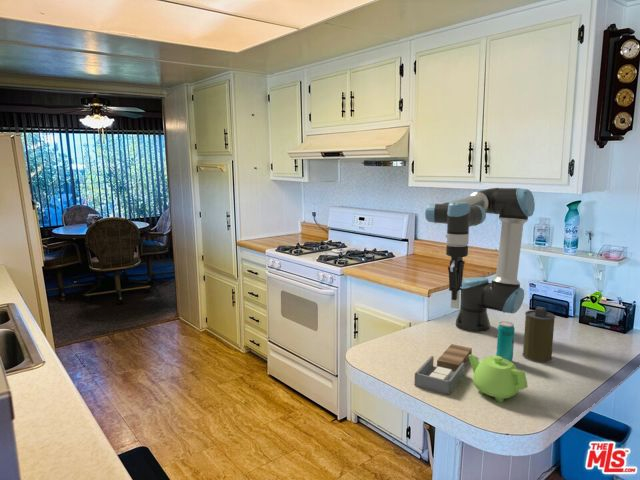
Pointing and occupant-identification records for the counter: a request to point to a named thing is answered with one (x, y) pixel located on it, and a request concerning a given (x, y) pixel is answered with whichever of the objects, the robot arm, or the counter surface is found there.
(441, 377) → the tile
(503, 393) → the teapot
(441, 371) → the tile
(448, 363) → the walnut board
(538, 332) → the canister
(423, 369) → the tray
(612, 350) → the counter surface
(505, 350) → the beverage can
